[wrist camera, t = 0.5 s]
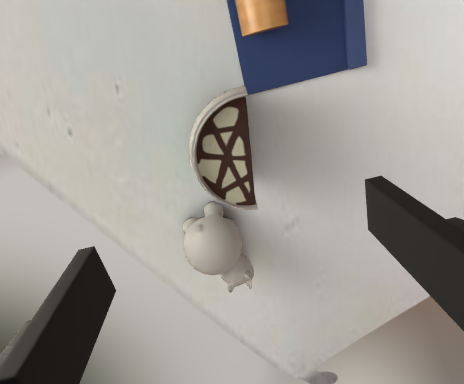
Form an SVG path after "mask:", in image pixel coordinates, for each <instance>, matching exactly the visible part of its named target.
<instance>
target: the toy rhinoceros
mask: <svg viewBox="0 0 464 384" xmlns="http://www.w3.org/2000/svg"><path fill="white" fill-rule="evenodd" d="M204 216H205V217H203V218H201V219H197V218H190V219H187V220H186V221H185V223H184V225H183V231H184V234H185V238H184V253H185V256H186V258H187V260H188V262H189V263H190V265H191V266H192V267H193V268H194V269H196V270H197V271H199V272H201V273H204V274H208V275H217V274H221V277H222V279H223V280H224V281H225V282H226V283H227V284H228V290H229V292H230V293H231V292H232V291H233V288H234V287H235V286H239V285H241V284H243V283H246V285H247V286H248V287H249V288H250V289H251V288H252V278H253V276H254V269H253V267H252V265H251V262H250V260H249V259H248V258H247V257H246V256H245V255H243V254H241V251H242V239H241V235H240V233H239V231H238V229H237V227H236V223H235V221H234V220H233V219H231V218H223V207H222V206H221V205H220V204H219V203H217V202H210V203H208V204H207V205H206V206H205V208H204Z"/></svg>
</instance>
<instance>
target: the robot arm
mask: <svg viewBox="0 0 464 384" xmlns="http://www.w3.org/2000/svg"><path fill="white" fill-rule="evenodd" d="M365 189H366V204H367V218H368V230H369V231H370V232H371V233H372V234H373V235H374V236H375V237H376V238H377V239H378V240H379V241H380V243H381V244H382V245H383V246H384V247H385V248H386V249H387V250H388V251H389V252H390V253H391V254H392V255H393V256H394V257H395V259H396V260H397V261H398V262H399V263H400V264H401V265H402V266H403V267H404V268H405V269H406V270H407V271H408V272H409V273H410V274H411V276H412V277H413V278H414V279H415V280H416V281H417V282H418V283H419V284H420V285H421V286H422V287H423V288H424V289H425V290H426V291H427V293H428V294H429V295H430V296H431V297H432V298H433V299H434V300H435V301H436V302H437V303H438V304H439V305H440V306H441V307H442V308H443V310H444V311H445V312H446V313H447V314H448V315H449V316H450V317H451V318H452V319H453V320H454V321H455V322H456V323H457V324H458V326H459V327H460V328H461V329H462V330H463V331H464V220H462V219H459V218H456V217H454V218H450V219H445V218H443V217H442V216H440V215H439V214H437V213H436V212H434V211H433V210H431V209H430V208H428V207H427V206H425V205H424V204H422V203H421V202H419V201H418V200H416V199H415V198H413V197H412V196H410V195H409V194H407V193H406V192H405V191H403V190H402V189H400V188H399V187H397V186H396V185H394V184H393V183H391V182H390V181H388V180H387V179H385V178H384V177H382V176H378V177H374V178H370V179H366V180H365ZM115 292H116V289H115V287H114V285H113V283H112V281H111V279H110V277H109V275H108V273H107V271H106V269H105V267H104V265H103V263H102V261H101V259H100V257H99V255H98V253H97V251H96V249H95V247H94V246H93V247H89V248H85V249H81V250H78V252H77V253H76V255H75V256H74V258H73V259H72V261H71V263H70V264H69V265H68V267H67V268H66V270H65V271H64V273H63V274H62V276H61V277H60V279H59V280H58V282H57V283H56V285H55V286H54V288H53V289H52V291H51V292H50V294H49V295H48V296H47V298H46V299H45V301H44V303H43V304H42V305H41V307H40V309H39V310H38V311H37V313H36V314H35V316H34V317H33V319H32V320H29V321H27V322H26V324H24V325H23V326H22V327H21V328H20V329H19V330H18V331H17V332H16V333H15V334H14V336H13V337H12V339H11V340H10V342H9V343H8V344H7V347H6V348H5V349H4V350H3V352H2V353H1V354H0V384H79V383H80V380H81V378H82V375H83V373H84V370H85V368H86V365H87V363H88V360H89V358H90V355H91V353H92V350H93V348H94V345H95V343H96V340H97V338H98V335H99V332H100V330H101V327H102V325H103V322H104V320H105V317H106V315H107V312H108V310H109V307H110V305H111V302H112V300H113V297H114V294H115Z"/></svg>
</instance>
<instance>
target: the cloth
mask: <svg viewBox="0 0 464 384" xmlns="http://www.w3.org/2000/svg"><path fill="white" fill-rule="evenodd" d="M285 1H286V8H287V15H288V22H289V24H288V25H286V26H283V27H280V28H277V29H274V30H270V31H266V32H263V33H259V34H255V35H250V36H246V37H242V33H241V28H240V23H239V18H238V13H237V8H236V3H235V0H227V3H228V8H229V13H230V17H231V22H232V27H233V32H234V36H235V41H236V46H237V51H238V56H239V60H240V65H241V70H242V75H243V79H244V84H245V87H246V90H247V94H248V95H249V94H253V93H257V92H261V91H265V90H269V89H273V88H277V87H281V86H284V85H288V84H292V83H296V82H300V81H304V80H308V79H312V78H316V77H320V76H324V75H328V74H331V73H335V72H339V71H343V70H347V69H354V68H358V67H362V66H366V65H367V56H366V40H365V23H364V6H363V0H285Z"/></svg>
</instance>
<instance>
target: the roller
mask: <svg viewBox="0 0 464 384" xmlns="http://www.w3.org/2000/svg"><path fill="white" fill-rule="evenodd" d="M235 3H236V8H237V13H238V18H239V23H240V28H241V33H242V37H246V36H250V35H255V34H259V33H263V32H266V31H270V30H274V29H277V28H280V27H283V26H286V25H288V24H289V22H288V15H287V8H286V1H285V0H235Z"/></svg>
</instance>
